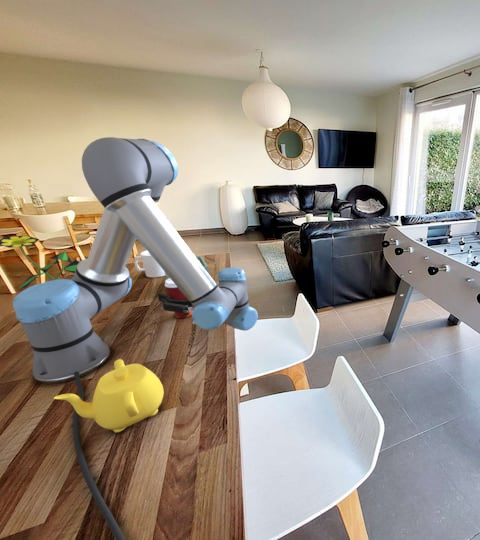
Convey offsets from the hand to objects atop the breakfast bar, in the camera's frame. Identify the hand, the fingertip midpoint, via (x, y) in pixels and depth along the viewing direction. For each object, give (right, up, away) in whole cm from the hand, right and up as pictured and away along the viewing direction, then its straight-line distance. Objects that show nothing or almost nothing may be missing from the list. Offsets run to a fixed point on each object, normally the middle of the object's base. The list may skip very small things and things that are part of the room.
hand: (173, 291), depth 104 cm
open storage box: (-9, +1, +24) cm, 26 cm away
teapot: (+14, -26, -39) cm, 48 cm away
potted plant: (-33, -9, -4) cm, 35 cm away
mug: (-31, +6, +34) cm, 46 cm away
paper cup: (+3, -9, +2) cm, 9 cm away
